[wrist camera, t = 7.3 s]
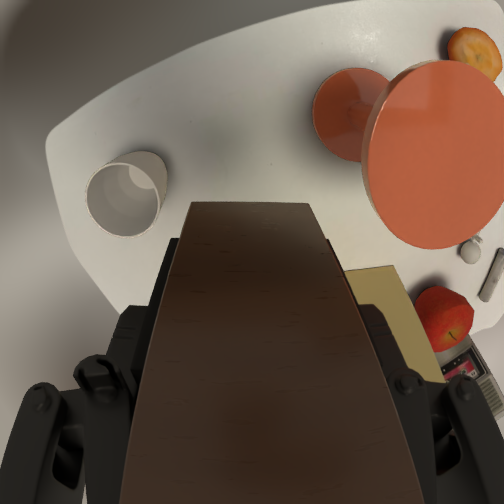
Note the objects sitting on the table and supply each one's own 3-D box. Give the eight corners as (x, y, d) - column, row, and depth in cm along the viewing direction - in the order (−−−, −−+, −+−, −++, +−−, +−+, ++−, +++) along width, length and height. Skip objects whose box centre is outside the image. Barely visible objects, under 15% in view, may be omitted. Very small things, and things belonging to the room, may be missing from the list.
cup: (128, 205, 39) (101, 244, 31) (110, 149, 35) (74, 175, 26) (184, 192, 39) (169, 230, 30) (169, 132, 34) (146, 153, 26)
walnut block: (190, 200, 13) (114, 535, 3) (309, 202, 13) (429, 513, 3) (197, 293, 15) (173, 549, 5) (296, 293, 16) (345, 541, 6)
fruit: (497, 79, 28) (512, 88, 23) (451, 80, 32) (458, 89, 27) (485, 27, 24) (499, 27, 19) (437, 28, 28) (443, 28, 23)
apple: (435, 260, 46) (470, 306, 36) (457, 286, 50) (488, 329, 40) (390, 302, 51) (416, 353, 41) (417, 323, 54) (441, 369, 44)
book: (395, 260, 45) (457, 400, 27) (386, 292, 50) (433, 421, 32) (163, 288, 47) (141, 444, 28) (177, 318, 52) (165, 458, 33)
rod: (484, 294, 52) (491, 302, 50) (476, 295, 52) (483, 303, 49) (504, 247, 46) (512, 254, 43) (496, 247, 46) (504, 254, 43)
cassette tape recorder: (454, 310, 53) (509, 404, 32) (458, 323, 56) (508, 412, 35) (401, 346, 58) (442, 447, 37) (408, 357, 60) (447, 451, 39)
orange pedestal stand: (306, 52, 30) (380, 34, 13) (412, 72, 30) (528, 95, 13) (299, 163, 37) (350, 248, 20) (398, 171, 38) (489, 250, 21)
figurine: (515, 189, 34) (493, 273, 41) (492, 177, 39) (474, 256, 46) (492, 186, 34) (470, 276, 40) (468, 174, 39) (451, 258, 46)
